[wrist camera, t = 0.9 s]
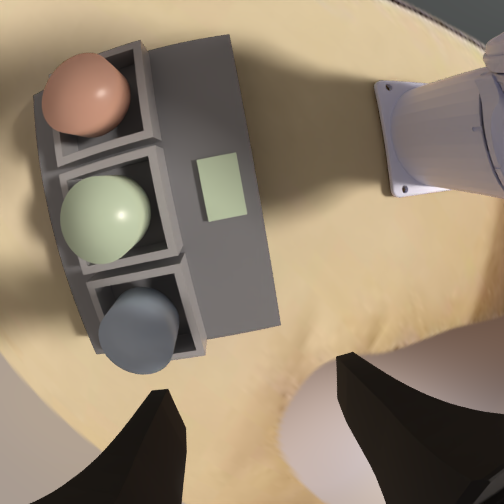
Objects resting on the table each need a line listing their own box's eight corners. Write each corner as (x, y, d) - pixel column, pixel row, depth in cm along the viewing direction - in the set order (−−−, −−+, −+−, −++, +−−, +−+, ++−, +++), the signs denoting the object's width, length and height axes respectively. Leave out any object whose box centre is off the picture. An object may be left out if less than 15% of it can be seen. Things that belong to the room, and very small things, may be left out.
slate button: (168, 280, 14) (160, 300, 12) (187, 343, 15) (183, 369, 13) (104, 292, 14) (87, 312, 12) (126, 351, 15) (115, 377, 13)
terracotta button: (127, 59, 11) (111, 41, 9) (135, 125, 12) (119, 117, 10) (63, 82, 11) (40, 71, 9) (69, 147, 12) (45, 144, 10)
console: (227, 50, 16) (230, 18, 11) (274, 307, 20) (287, 342, 16) (52, 101, 15) (15, 89, 11) (107, 335, 20) (86, 371, 15)
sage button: (142, 166, 13) (127, 165, 11) (158, 241, 14) (147, 255, 12) (76, 185, 13) (52, 189, 10) (93, 256, 14) (73, 271, 11)
